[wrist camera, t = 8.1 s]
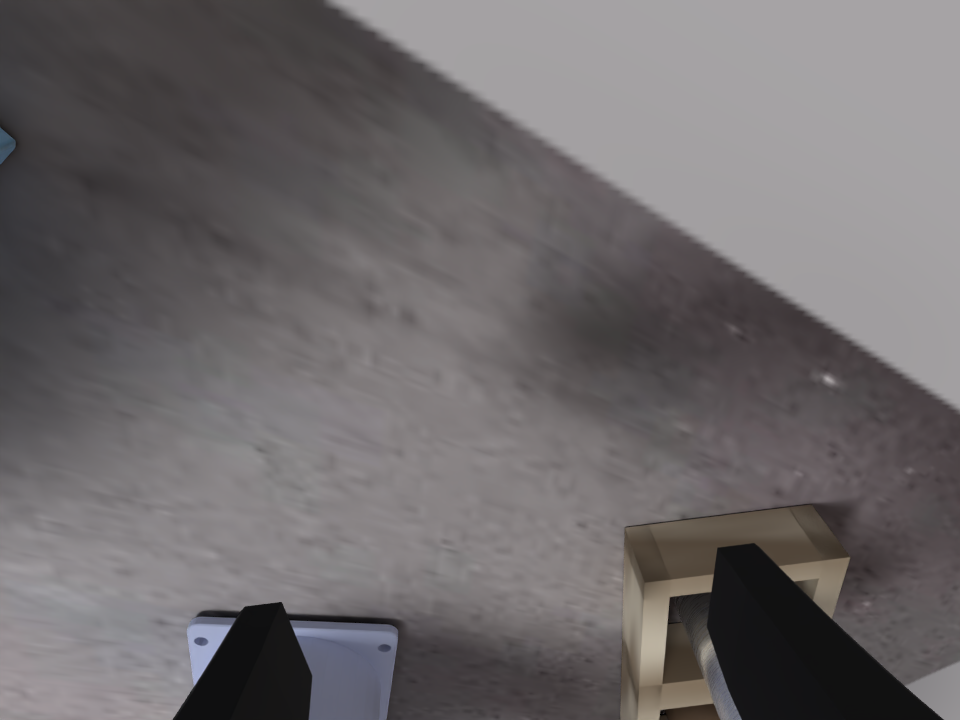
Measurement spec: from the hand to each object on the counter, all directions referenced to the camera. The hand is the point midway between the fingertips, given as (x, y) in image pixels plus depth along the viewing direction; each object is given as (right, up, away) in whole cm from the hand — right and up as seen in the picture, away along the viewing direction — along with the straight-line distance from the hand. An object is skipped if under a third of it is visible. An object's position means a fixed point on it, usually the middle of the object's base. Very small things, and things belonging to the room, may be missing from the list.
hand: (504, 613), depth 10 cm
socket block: (+9, -8, +16) cm, 20 cm away
